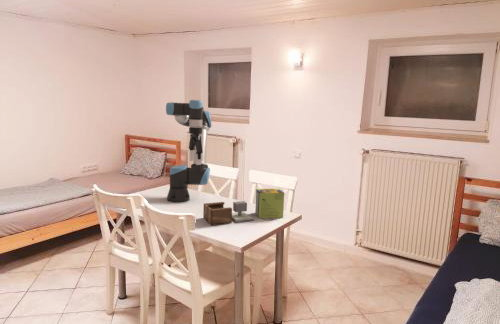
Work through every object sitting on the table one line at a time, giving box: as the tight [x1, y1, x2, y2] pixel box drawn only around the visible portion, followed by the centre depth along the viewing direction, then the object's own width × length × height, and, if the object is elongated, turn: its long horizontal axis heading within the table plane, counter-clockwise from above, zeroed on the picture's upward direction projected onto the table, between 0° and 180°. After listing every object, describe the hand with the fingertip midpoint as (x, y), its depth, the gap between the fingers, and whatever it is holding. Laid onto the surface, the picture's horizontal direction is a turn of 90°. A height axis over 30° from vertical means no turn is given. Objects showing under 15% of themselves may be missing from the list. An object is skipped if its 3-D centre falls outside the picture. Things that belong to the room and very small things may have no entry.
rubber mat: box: [232, 218, 255, 224], centre depth 208 cm, size 15×12×1 cm
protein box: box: [254, 188, 285, 219], centre depth 213 cm, size 10×15×16 cm
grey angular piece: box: [232, 200, 253, 221], centre depth 207 cm, size 11×10×9 cm
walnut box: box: [202, 201, 233, 227], centre depth 201 cm, size 14×12×9 cm
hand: (195, 162), depth 209 cm, fingers open, 13 cm apart
